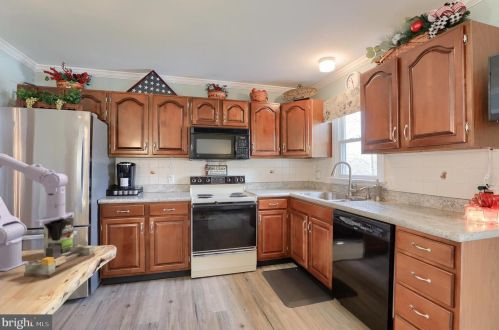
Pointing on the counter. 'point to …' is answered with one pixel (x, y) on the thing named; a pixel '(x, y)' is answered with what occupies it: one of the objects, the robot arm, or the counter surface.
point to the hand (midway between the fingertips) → (56, 240)
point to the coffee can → (65, 238)
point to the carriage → (55, 254)
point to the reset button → (48, 261)
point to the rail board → (74, 258)
